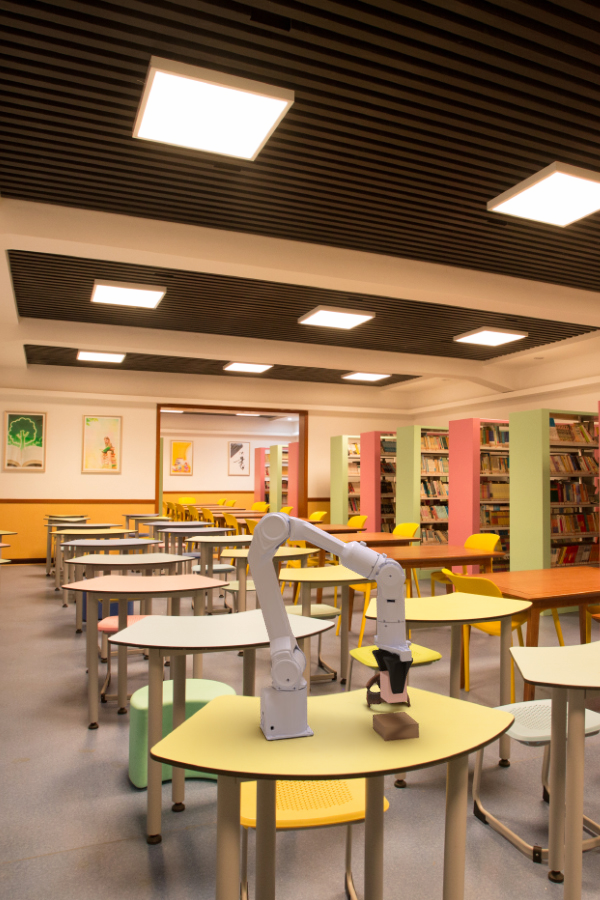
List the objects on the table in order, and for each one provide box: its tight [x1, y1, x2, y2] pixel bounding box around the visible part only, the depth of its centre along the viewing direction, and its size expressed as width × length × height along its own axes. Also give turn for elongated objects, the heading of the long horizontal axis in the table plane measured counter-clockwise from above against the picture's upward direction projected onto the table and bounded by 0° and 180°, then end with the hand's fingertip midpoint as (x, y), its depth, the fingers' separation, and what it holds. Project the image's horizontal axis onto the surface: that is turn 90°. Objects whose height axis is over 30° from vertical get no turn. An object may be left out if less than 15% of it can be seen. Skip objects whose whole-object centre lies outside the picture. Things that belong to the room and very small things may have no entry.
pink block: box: [379, 671, 408, 704], centre depth 118 cm, size 4×4×5 cm
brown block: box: [372, 711, 420, 742], centre depth 118 cm, size 7×7×3 cm
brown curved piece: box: [365, 672, 412, 708], centre depth 135 cm, size 12×10×8 cm
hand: (393, 689), depth 118 cm, fingers closed on pink block, 4 cm apart
